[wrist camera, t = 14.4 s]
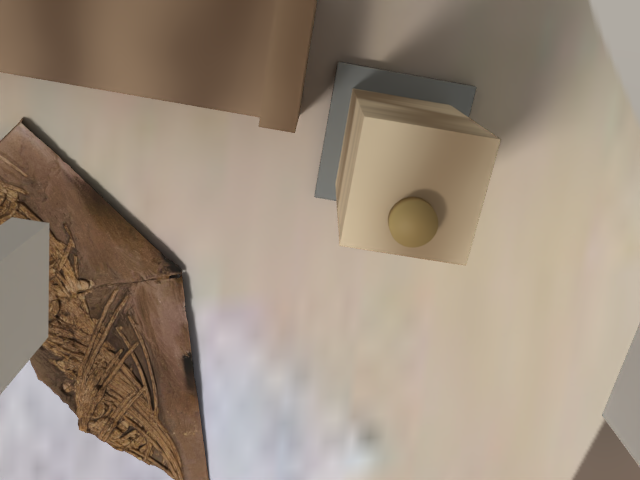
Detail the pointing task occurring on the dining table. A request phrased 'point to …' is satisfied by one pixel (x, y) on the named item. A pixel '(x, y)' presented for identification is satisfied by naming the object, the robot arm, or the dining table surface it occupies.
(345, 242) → the cream tall block
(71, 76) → the plank
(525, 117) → the dining table surface
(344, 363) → the dining table surface
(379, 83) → the mat
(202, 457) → the wooden fragment
